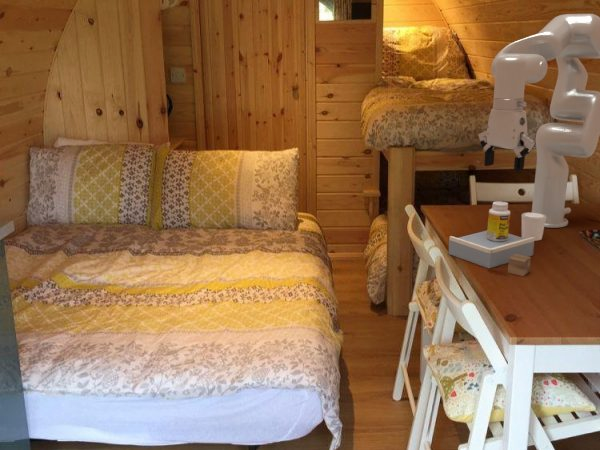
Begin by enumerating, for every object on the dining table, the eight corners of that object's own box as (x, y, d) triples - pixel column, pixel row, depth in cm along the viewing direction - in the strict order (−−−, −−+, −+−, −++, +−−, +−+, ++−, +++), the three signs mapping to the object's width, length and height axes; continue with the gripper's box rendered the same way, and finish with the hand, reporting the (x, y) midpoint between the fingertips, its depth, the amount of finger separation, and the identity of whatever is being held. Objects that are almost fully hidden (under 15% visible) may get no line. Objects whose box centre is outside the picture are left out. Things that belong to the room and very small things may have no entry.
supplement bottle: (497, 243, 172) (501, 206, 169) (482, 238, 177) (485, 202, 174) (512, 240, 175) (515, 203, 172) (496, 234, 180) (499, 199, 177)
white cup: (515, 237, 190) (517, 215, 188) (525, 232, 195) (527, 210, 193) (538, 242, 186) (540, 219, 184) (547, 237, 190) (550, 214, 188)
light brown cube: (513, 268, 166) (515, 253, 165) (529, 272, 163) (530, 257, 162) (507, 272, 163) (509, 258, 162) (523, 276, 160) (524, 261, 159)
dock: (491, 242, 186) (493, 225, 185) (532, 255, 175) (534, 237, 174) (448, 253, 177) (449, 236, 175) (489, 268, 166) (490, 250, 164)
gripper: (545, 106, 164) (539, 171, 170) (490, 100, 178) (486, 161, 183) (527, 109, 160) (521, 176, 166) (472, 103, 174) (469, 165, 179)
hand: (503, 168), depth 174 cm, fingers open, 9 cm apart
